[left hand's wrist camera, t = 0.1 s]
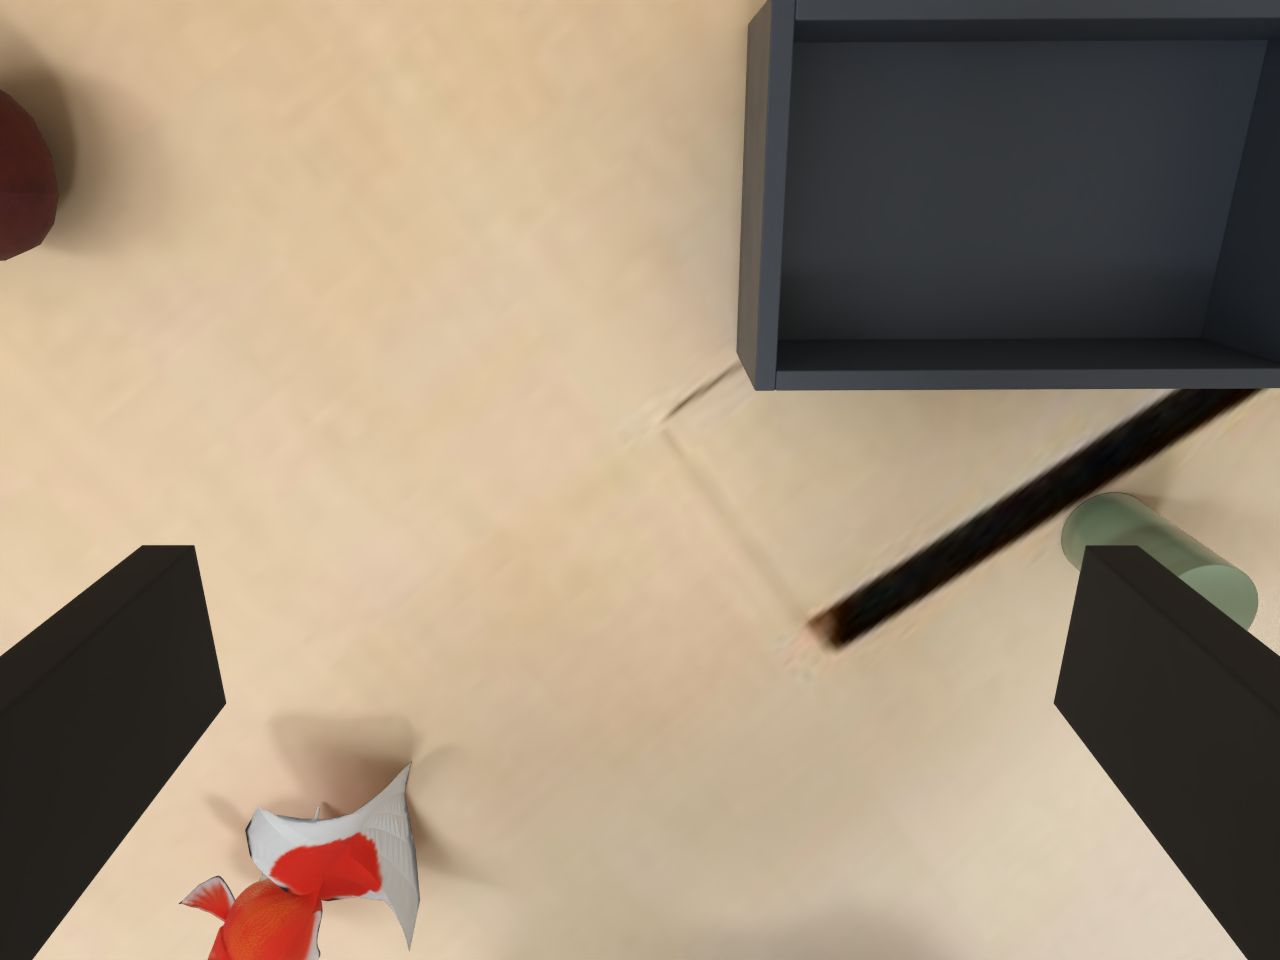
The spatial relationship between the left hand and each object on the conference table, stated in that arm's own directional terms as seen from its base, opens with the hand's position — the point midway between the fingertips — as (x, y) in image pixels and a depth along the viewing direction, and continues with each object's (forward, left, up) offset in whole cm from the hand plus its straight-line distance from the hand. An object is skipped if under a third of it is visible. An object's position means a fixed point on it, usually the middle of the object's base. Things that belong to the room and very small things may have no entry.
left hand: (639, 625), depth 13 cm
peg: (-11, -23, -28) cm, 38 cm away
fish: (-29, +18, -28) cm, 44 cm away
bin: (+5, -15, -28) cm, 32 cm away
